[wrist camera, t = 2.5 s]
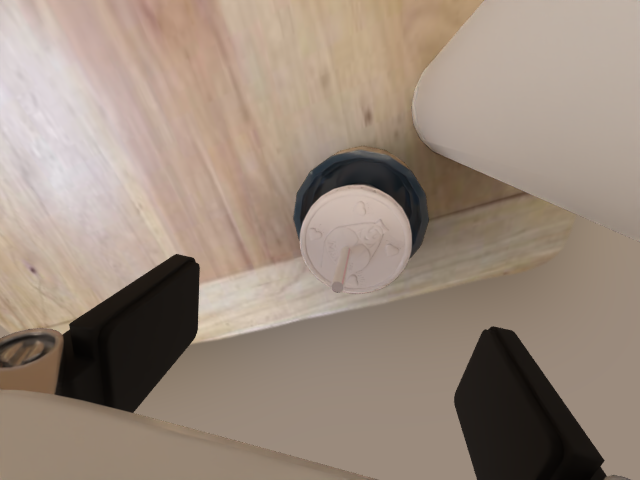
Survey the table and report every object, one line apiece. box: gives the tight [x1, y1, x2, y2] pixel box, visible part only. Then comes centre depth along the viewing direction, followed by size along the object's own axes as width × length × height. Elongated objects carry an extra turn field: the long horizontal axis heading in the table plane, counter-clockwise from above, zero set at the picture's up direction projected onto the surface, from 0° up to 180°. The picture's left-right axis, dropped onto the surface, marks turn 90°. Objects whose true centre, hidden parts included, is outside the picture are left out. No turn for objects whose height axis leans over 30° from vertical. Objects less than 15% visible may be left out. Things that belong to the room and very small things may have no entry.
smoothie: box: [300, 183, 412, 294], centre depth 20 cm, size 6×6×14 cm
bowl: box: [293, 146, 429, 259], centre depth 24 cm, size 9×9×5 cm
